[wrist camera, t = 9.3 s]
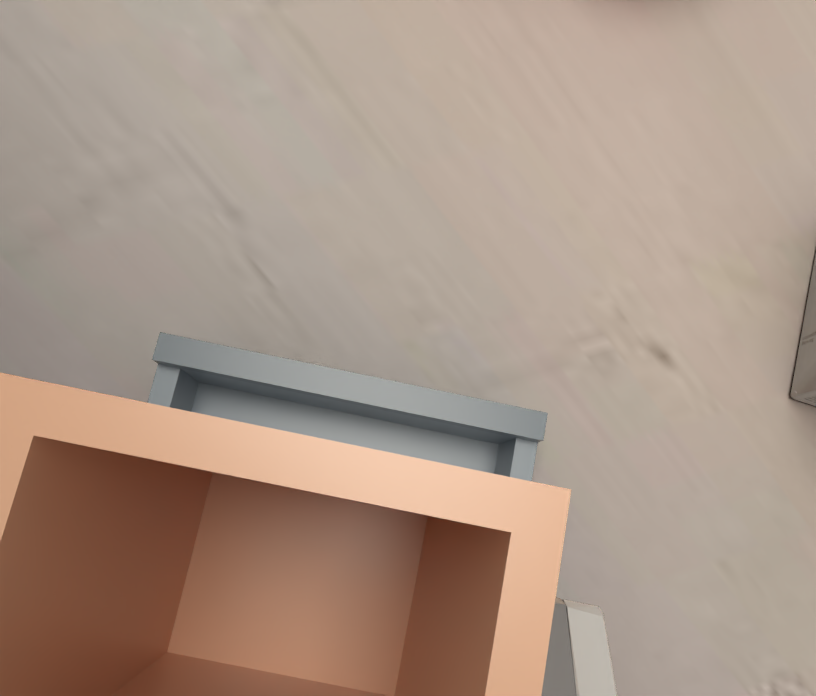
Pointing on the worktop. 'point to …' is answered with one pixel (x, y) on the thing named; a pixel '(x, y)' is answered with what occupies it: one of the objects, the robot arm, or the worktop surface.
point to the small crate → (258, 559)
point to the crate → (346, 407)
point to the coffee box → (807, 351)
